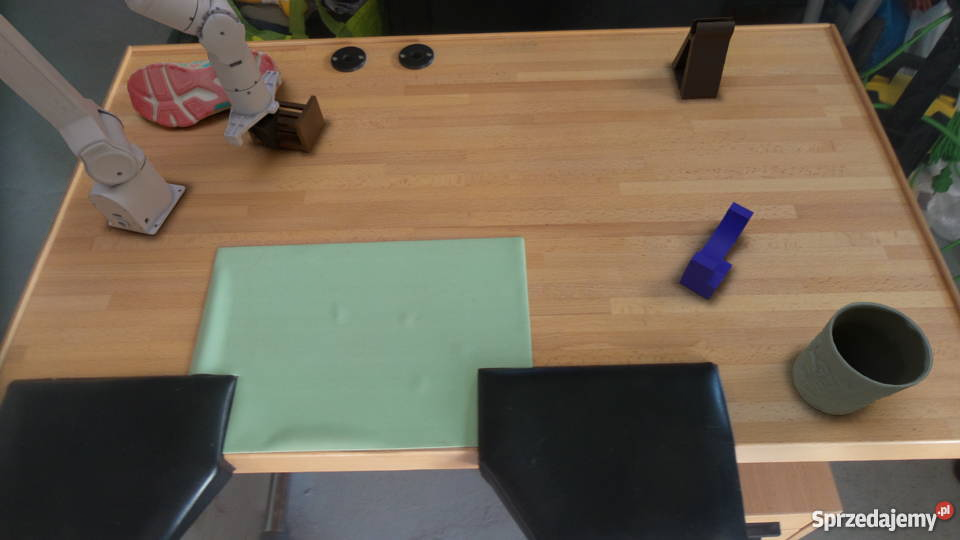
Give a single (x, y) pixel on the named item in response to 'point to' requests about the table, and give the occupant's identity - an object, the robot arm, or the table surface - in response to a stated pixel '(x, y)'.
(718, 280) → the blue angled block
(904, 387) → the grey plant pot
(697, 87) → the phone stand
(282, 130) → the shoe rack
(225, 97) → the athletic shoe
